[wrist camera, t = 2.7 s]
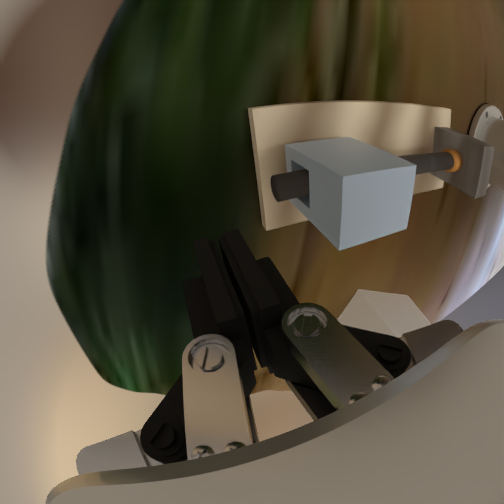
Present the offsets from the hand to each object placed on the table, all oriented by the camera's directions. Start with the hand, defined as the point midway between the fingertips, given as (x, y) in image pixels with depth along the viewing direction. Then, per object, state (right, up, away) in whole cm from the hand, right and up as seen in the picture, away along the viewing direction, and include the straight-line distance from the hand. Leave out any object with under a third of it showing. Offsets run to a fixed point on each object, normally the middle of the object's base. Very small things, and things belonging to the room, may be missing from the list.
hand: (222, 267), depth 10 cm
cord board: (+11, +9, +10) cm, 18 cm away
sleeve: (+6, +6, +8) cm, 12 cm away
